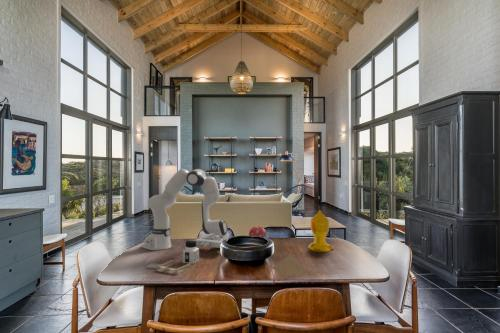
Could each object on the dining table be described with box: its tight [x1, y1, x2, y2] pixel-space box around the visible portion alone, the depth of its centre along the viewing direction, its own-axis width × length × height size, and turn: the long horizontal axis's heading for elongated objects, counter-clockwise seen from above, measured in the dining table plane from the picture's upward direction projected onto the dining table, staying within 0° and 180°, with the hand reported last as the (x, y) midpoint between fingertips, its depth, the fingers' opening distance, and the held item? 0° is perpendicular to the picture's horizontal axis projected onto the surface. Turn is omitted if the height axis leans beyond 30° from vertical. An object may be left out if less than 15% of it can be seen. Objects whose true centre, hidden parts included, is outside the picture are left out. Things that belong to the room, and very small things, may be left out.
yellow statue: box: [308, 209, 334, 253], centre depth 210 cm, size 18×24×28 cm
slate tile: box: [145, 263, 161, 270], centre depth 167 cm, size 6×6×2 cm
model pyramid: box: [271, 253, 311, 278], centre depth 163 cm, size 17×17×10 cm
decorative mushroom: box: [248, 225, 267, 238], centre depth 217 cm, size 13×13×15 cm
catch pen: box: [156, 259, 192, 275], centre depth 164 cm, size 14×13×2 cm
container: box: [182, 239, 200, 265], centre depth 178 cm, size 8×8×13 cm
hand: (202, 245), depth 189 cm, fingers closed
